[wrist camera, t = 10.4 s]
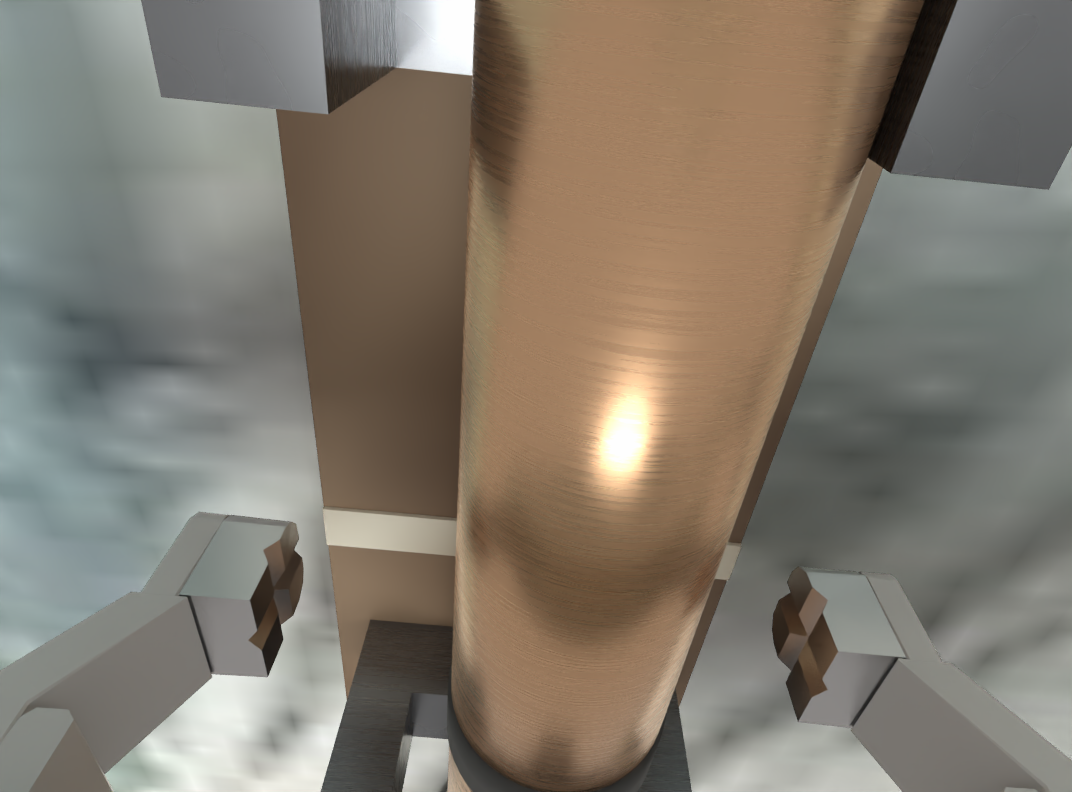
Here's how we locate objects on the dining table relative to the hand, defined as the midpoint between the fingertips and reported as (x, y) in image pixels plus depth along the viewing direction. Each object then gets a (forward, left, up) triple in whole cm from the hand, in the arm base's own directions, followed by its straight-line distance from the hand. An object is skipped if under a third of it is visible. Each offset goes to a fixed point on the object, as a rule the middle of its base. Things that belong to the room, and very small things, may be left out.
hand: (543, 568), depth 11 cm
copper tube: (0, 0, -2) cm, 2 cm away
